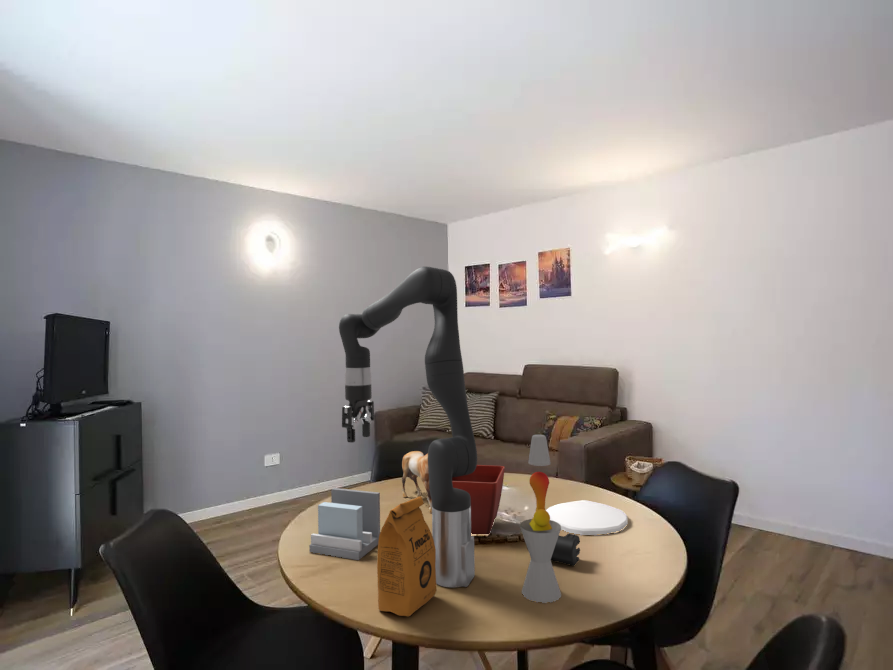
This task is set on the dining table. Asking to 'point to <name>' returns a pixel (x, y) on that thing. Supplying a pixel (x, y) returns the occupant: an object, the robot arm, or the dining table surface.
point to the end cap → (566, 549)
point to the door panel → (340, 520)
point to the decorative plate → (588, 517)
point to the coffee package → (405, 560)
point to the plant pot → (482, 495)
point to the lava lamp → (540, 532)
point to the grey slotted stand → (370, 526)
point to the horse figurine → (416, 472)
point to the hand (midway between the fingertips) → (359, 439)
